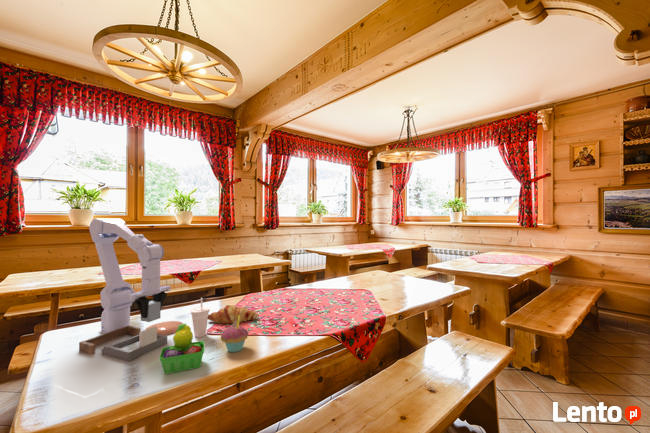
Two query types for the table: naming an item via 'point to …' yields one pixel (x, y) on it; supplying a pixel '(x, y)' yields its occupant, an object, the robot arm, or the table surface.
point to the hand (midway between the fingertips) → (150, 315)
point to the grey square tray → (146, 344)
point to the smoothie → (200, 320)
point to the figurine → (235, 323)
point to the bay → (106, 338)
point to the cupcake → (234, 337)
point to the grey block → (152, 311)
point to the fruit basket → (182, 352)
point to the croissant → (232, 315)
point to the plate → (166, 327)
